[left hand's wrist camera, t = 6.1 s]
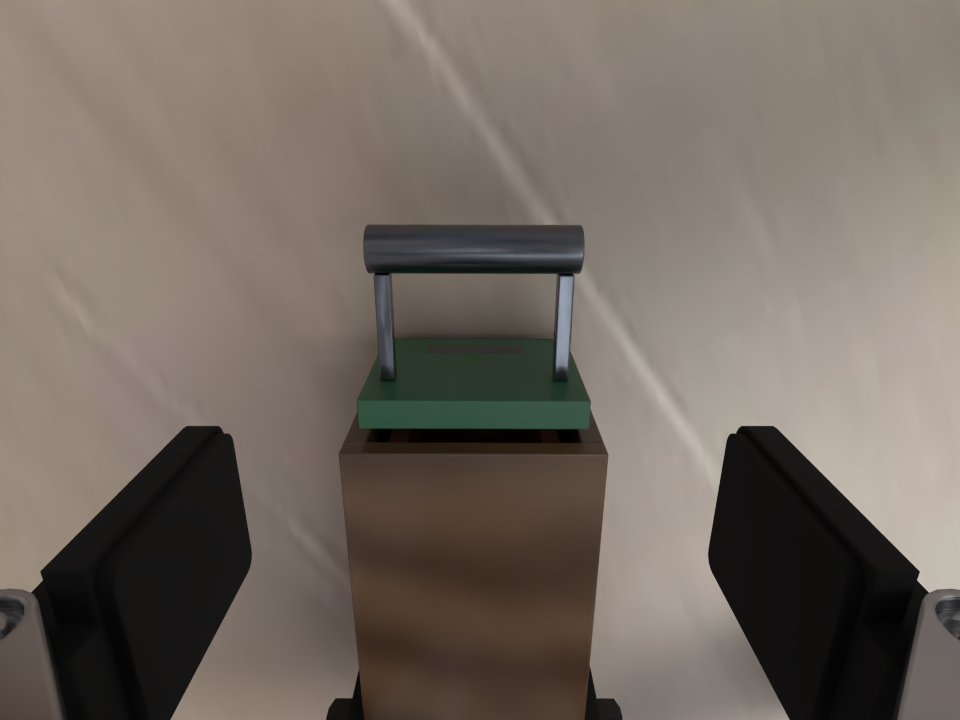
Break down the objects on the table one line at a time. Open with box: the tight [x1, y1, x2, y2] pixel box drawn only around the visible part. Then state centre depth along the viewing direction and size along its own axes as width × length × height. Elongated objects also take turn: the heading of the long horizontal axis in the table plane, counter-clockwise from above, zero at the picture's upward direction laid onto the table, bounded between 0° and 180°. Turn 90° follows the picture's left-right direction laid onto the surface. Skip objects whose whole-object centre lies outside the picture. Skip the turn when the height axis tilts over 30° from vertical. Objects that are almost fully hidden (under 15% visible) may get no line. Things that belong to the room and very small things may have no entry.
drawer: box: [357, 225, 591, 443], centre depth 28 cm, size 24×9×7 cm, turn 0°
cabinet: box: [339, 409, 608, 720], centre depth 29 cm, size 20×10×9 cm, turn 0°
